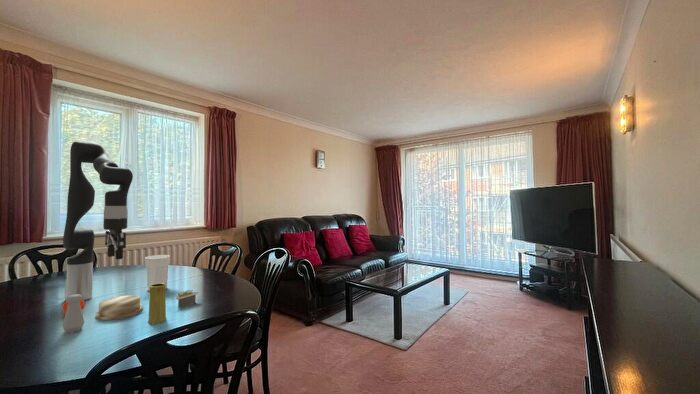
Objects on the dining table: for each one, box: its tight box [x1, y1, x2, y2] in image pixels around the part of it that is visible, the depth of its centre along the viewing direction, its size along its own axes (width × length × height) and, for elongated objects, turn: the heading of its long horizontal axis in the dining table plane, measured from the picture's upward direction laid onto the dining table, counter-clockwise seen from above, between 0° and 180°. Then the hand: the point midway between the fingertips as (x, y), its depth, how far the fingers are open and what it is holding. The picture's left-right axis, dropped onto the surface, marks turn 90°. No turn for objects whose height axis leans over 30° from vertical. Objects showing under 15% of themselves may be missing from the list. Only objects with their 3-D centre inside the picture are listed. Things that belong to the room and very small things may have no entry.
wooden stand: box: [94, 294, 144, 321], centre depth 127 cm, size 16×16×5 cm
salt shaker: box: [62, 294, 85, 334], centre depth 109 cm, size 6×6×13 cm
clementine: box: [62, 299, 86, 314], centre depth 125 cm, size 8×7×7 cm
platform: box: [175, 289, 199, 308], centre depth 137 cm, size 12×18×7 cm, turn 149°
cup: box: [144, 254, 171, 293], centre depth 159 cm, size 11×11×17 cm
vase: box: [147, 283, 167, 325], centre depth 119 cm, size 6×6×14 cm
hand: (115, 257), depth 120 cm, fingers open, 8 cm apart
